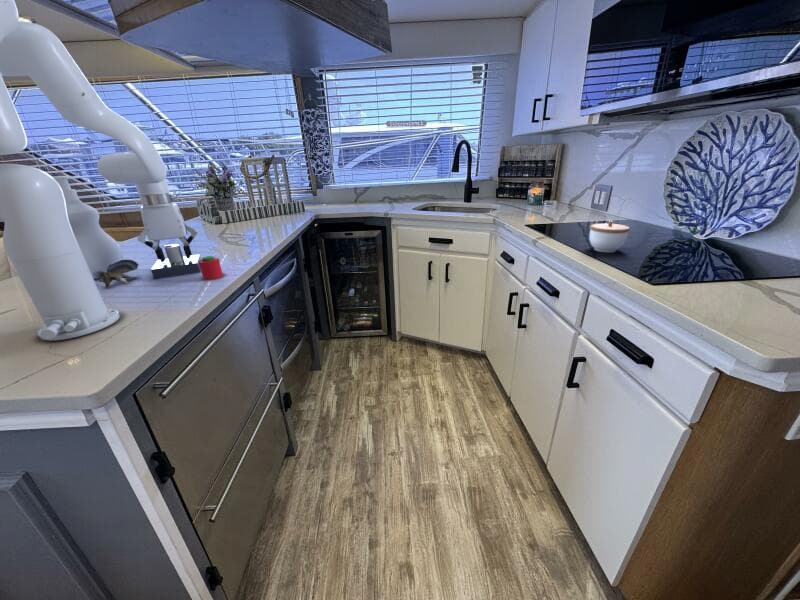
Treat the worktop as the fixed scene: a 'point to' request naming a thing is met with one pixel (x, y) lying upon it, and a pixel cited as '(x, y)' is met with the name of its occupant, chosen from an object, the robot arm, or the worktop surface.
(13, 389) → the worktop surface
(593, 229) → the trinket box
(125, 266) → the squirrel figurine
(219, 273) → the strawberry toy
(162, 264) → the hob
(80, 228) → the soap bottle
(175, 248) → the knob
